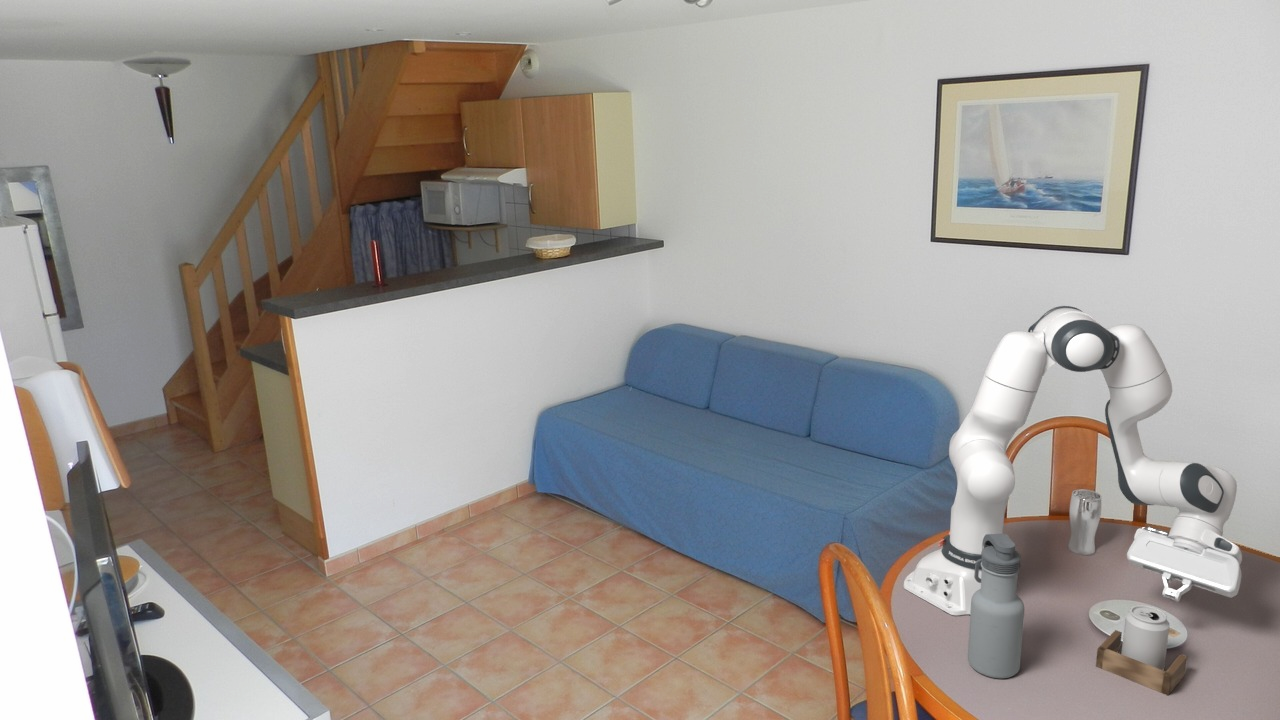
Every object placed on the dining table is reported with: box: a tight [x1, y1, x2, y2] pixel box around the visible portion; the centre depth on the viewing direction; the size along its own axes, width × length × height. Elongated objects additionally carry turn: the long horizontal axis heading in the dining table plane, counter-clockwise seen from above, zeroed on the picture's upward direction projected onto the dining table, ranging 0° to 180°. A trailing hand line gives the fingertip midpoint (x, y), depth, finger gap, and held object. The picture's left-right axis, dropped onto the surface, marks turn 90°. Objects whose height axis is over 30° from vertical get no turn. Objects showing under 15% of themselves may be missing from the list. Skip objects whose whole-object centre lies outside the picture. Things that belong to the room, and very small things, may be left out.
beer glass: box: [1067, 488, 1102, 556], centre depth 213 cm, size 7×7×15 cm
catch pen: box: [1095, 629, 1188, 696], centre depth 168 cm, size 13×9×4 cm
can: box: [1120, 604, 1171, 671], centre depth 168 cm, size 8×8×12 cm
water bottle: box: [967, 533, 1025, 679], centre depth 169 cm, size 10×10×28 cm
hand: (1170, 598), depth 176 cm, fingers closed
